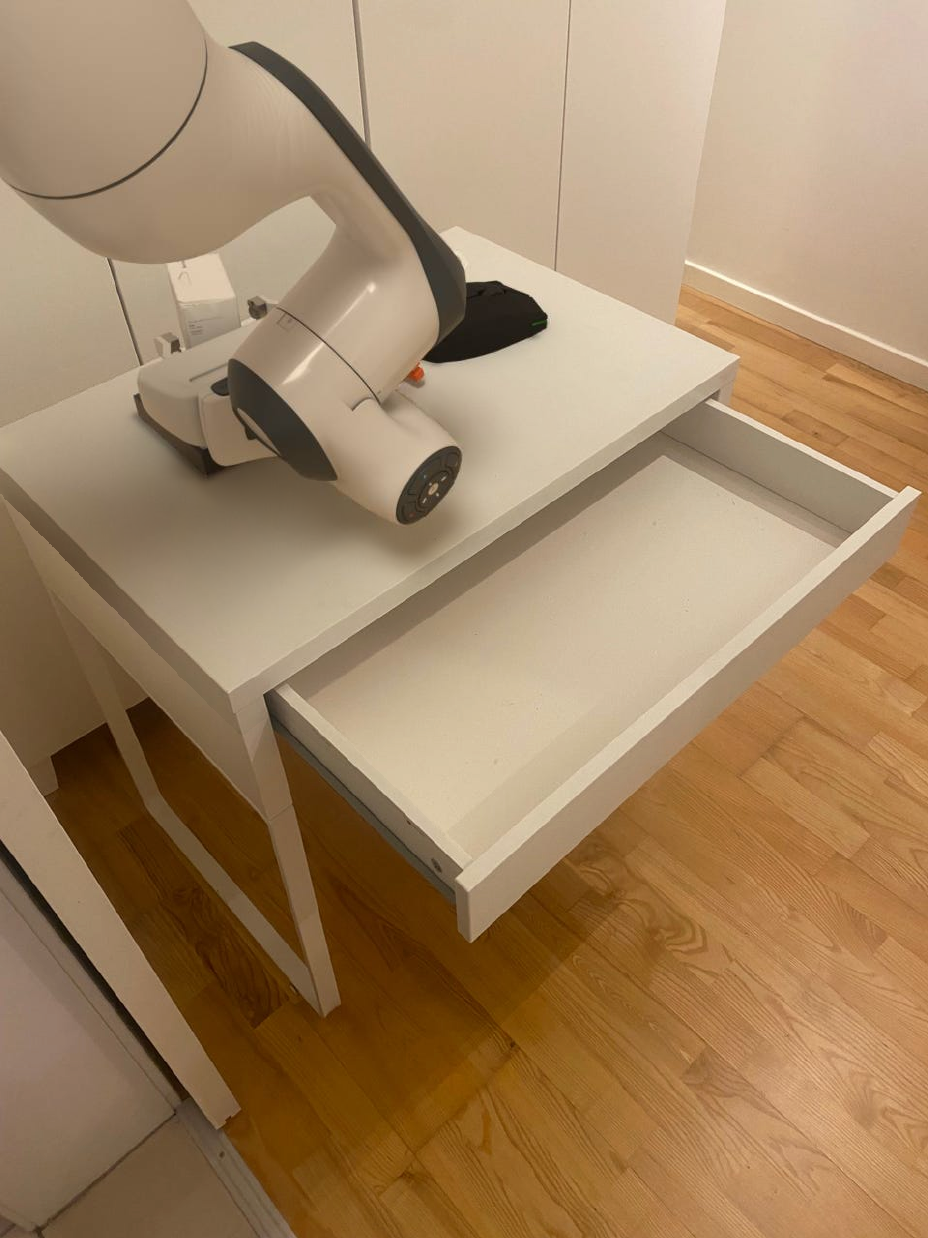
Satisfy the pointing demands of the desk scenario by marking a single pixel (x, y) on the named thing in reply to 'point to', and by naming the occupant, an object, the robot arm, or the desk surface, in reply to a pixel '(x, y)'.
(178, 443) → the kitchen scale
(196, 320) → the ink box
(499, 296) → the computer mouse
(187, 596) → the desk surface
